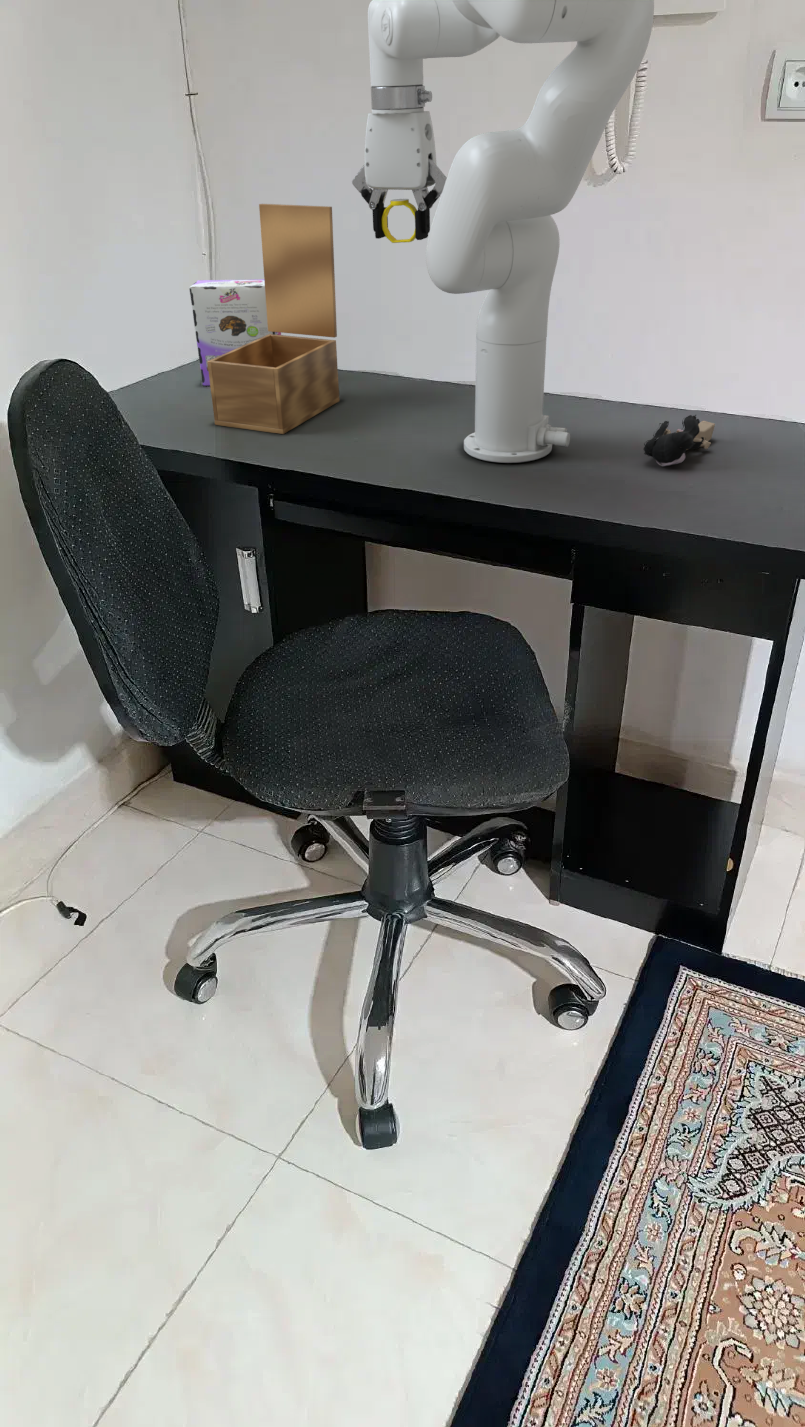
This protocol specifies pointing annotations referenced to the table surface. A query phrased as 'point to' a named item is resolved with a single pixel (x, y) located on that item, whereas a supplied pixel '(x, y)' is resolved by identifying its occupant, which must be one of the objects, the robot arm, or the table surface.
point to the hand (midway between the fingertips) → (401, 236)
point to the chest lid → (299, 269)
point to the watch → (384, 217)
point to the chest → (274, 382)
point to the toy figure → (678, 440)
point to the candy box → (227, 317)
